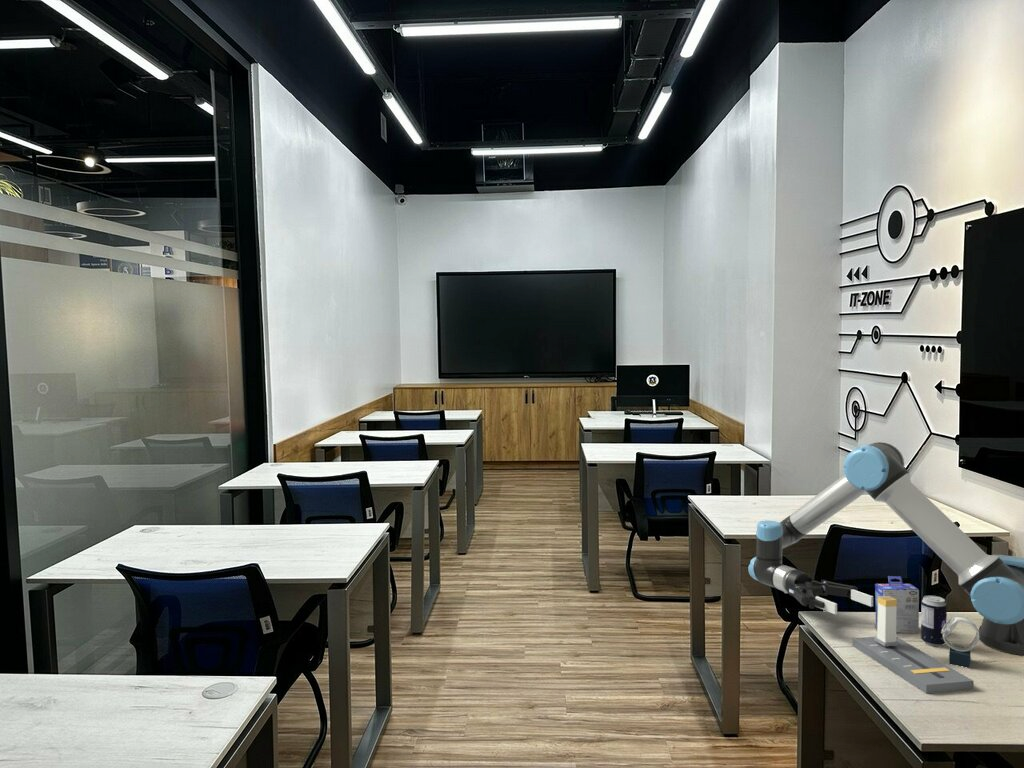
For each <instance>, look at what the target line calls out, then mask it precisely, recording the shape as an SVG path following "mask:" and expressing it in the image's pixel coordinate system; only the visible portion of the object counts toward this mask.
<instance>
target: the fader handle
mask: <svg viewBox="0 0 1024 768" xmlns="http://www.w3.org/2000/svg"><path fill="white" fill-rule="evenodd" d="M896 606H897V600H896V599H894V598H892V597H890V596H878V622H877V627H876V628H877V630H876V632H877V633H876V636H873V637H874V640H875V641H877V642H878V643H880V644H881V645H883V646H898V645H899V642H898V641H896V637H897V632H896Z"/></svg>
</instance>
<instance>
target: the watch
mask: <svg viewBox="0 0 1024 768" xmlns="http://www.w3.org/2000/svg"><path fill="white" fill-rule="evenodd" d="M960 622H963V623H966V624H969V626H971V627H972V628H973V629H974V630H975V631H976V633H975V637H974V639H972V642H971V643H969V644H968V646H964V645H963V646H962V645H958V644H954V643H953V644H952V643H951V641H949V640H948V638H947V636H949V635H951V634H952V632H953V631H954V630H955V628H956V627H957V625H958V623H960ZM978 630H979V627H978V626H977V625H976V624H975V623H974V622H973V621H972V620H971V619H968V618H965V617H963V616H956V617H953V616H951V617H950V618H949V619H948V620H946V624H945V625H944V627H943V628H942V630H941V633H942V634H943V639H944V641H945V644H946V646H948V648H949V654H948V660H949V663H948V664H949V665H951V664H952V666H956V665H958V666H957V667H961V666H963V667H962V668H965V667H967V668H966V669H971V658H972V657H971V656H972V655H971V653H972V652H971V651H972V650H973V649H975V647H976V646H977V645H978V643H979V641H980V640H979V638H980V636H979V631H978Z"/></svg>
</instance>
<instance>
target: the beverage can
mask: <svg viewBox="0 0 1024 768" xmlns="http://www.w3.org/2000/svg"><path fill="white" fill-rule="evenodd" d="M947 608H948V607H947V603H946V599H945V598H944V597H941V596H936V595H928V594H927V595H924V596H923V598H922V600H921V614H920V639H921V640H922V641H923V642H925V643H924V644H925V645H928V646H930V647H938V648H939V647H943V646H944V645H945V644H946V643H945V641H944V639H943V634H942V633H941V630H942V628H943V627H944V625H945V624H946V623H947V618H948V617H947V613H948V611H947Z"/></svg>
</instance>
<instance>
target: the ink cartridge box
mask: <svg viewBox="0 0 1024 768" xmlns="http://www.w3.org/2000/svg"><path fill="white" fill-rule="evenodd" d="M887 579H888V583H875V584H874V589H875V591H874V594H875V595H874V596H875V601H874V602H875V627H876V628H877V622H878V596H890V597H892V598H894V599H896V600H897V606H896V633H907V634H908V633H910V634H911V633H912V634H914V633H915V634H918V633H920V631H919V630H920V629H919V627H920V626H919V625H920V623H919V621H920V619H919V618H920V609H919V607H920V606H919V605H920V590H919V588H917V587H915V586H914V585H913V584H911V583H903V579H902V576H901V575H900V576H899V575H898V576H895V575H894V576H893V575H891V576H890V575H888V576H887ZM895 579H896V580H899V581H892V580H895Z"/></svg>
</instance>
